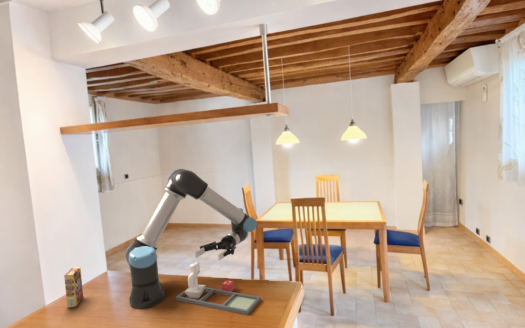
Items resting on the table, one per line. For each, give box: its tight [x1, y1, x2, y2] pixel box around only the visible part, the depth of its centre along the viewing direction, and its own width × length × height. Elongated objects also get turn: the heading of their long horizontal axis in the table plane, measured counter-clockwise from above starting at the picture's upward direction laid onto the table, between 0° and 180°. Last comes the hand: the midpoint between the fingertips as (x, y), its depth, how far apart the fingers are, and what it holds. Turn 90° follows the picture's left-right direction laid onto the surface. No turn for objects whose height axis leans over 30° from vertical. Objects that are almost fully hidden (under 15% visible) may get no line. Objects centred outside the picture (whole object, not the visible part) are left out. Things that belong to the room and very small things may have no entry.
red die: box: [221, 279, 235, 292], centre depth 146 cm, size 4×4×4 cm
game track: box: [175, 286, 262, 316], centre depth 138 cm, size 37×12×2 cm, turn 64°
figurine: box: [184, 261, 206, 300], centre depth 143 cm, size 7×9×15 cm
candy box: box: [63, 266, 84, 309], centre depth 145 cm, size 9×4×15 cm, turn 12°
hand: (207, 256), depth 152 cm, fingers open, 13 cm apart
